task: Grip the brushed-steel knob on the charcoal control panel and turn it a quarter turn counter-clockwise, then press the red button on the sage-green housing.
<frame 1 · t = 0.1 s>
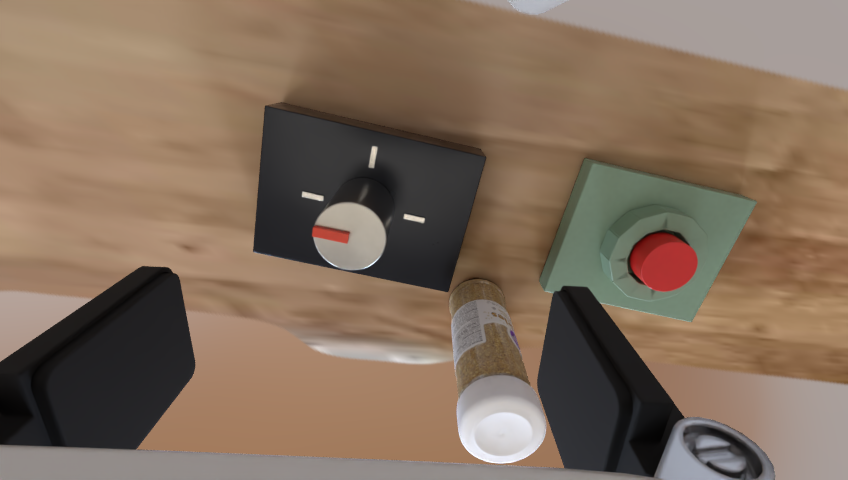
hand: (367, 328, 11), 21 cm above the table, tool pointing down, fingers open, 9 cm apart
button: (662, 261, 28), point 4 cm above the table, slide at 0.1 cm
dial: (357, 221, 25), point 6 cm above the table, hinge at 0.0°
button box: (635, 239, 32), on the table
panel: (370, 194, 31), on the table
sprinkles bottle: (475, 300, 34), on the table
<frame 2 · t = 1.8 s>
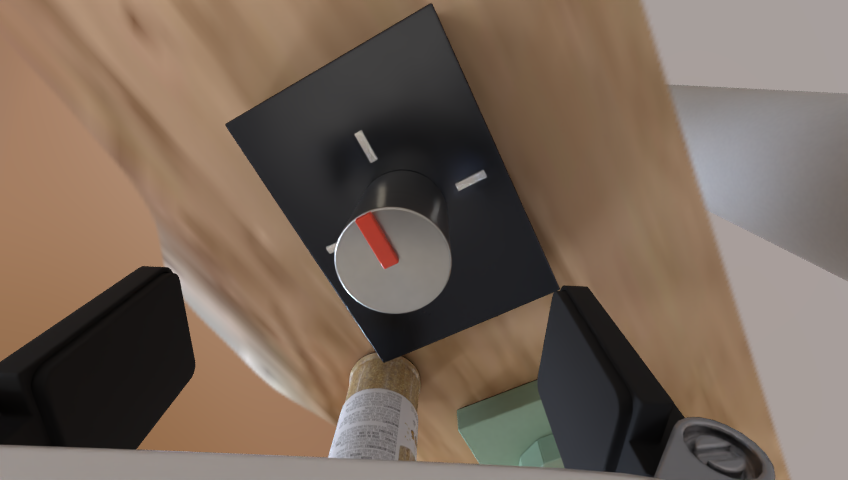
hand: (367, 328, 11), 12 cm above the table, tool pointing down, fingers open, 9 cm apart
dial: (398, 235, 17), point 6 cm above the table, hinge at 0.0°
button box: (561, 446, 28), on the table
panel: (407, 195, 22), on the table
sprinkles bottle: (385, 375, 27), on the table
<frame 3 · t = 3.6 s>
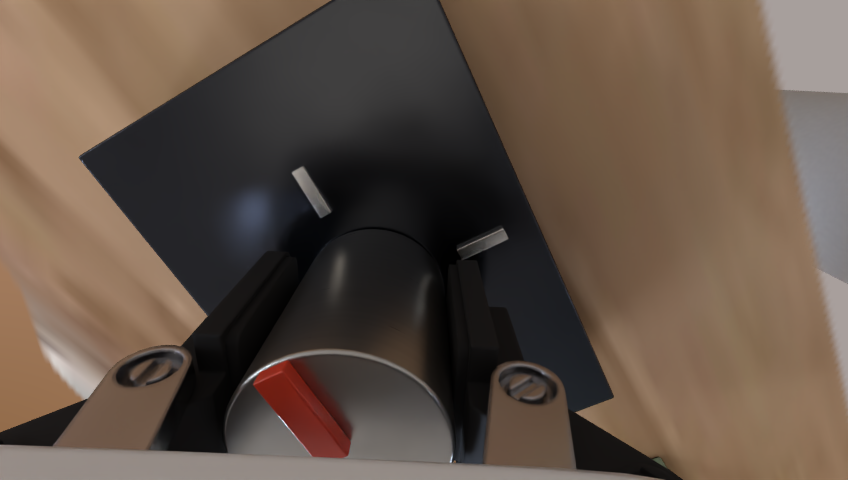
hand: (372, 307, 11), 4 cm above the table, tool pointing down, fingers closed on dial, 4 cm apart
dial: (361, 353, 10), point 6 cm above the table, hinge at 0.0°, touching gripper
panel: (385, 250, 15), on the table
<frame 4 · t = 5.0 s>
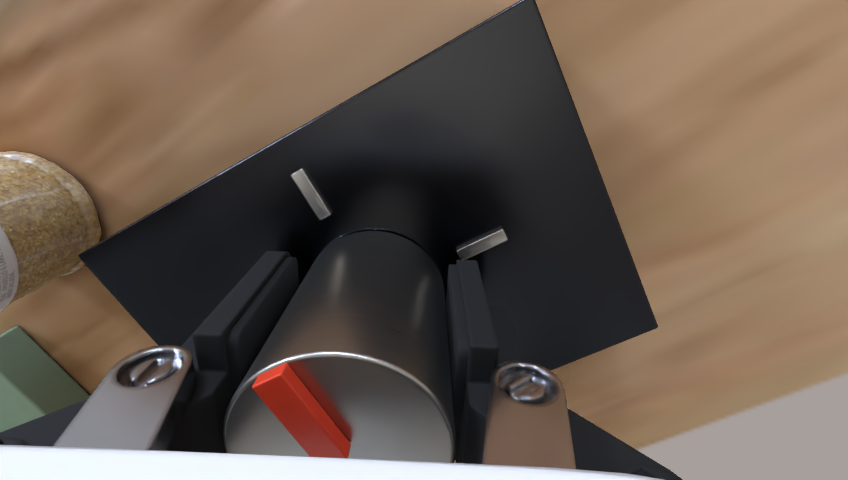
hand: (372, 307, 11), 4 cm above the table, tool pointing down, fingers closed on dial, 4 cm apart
dial: (361, 355, 10), point 6 cm above the table, hinge at 90.3°, touching gripper
button box: (10, 460, 19), on the table
panel: (385, 252, 15), on the table
sprinkles bottle: (47, 211, 15), on the table
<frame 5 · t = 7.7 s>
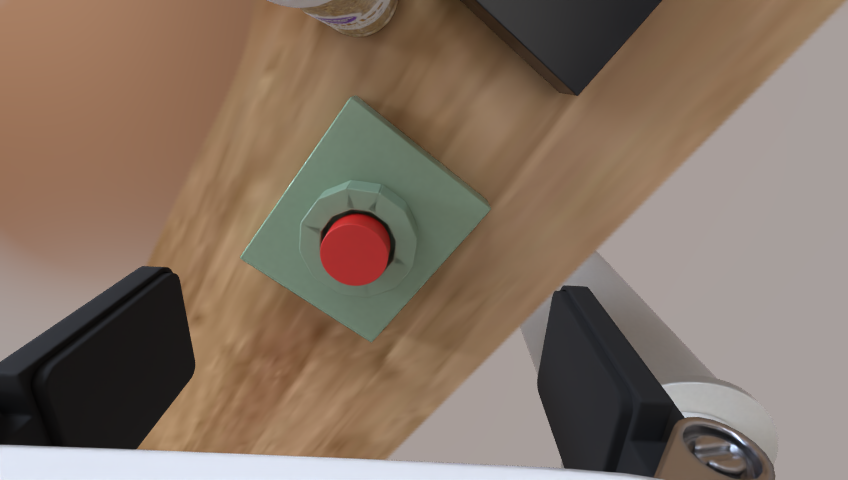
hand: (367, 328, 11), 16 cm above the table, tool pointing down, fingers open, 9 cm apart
button: (356, 249, 23), point 4 cm above the table, slide at 0.1 cm
button box: (366, 224, 27), on the table
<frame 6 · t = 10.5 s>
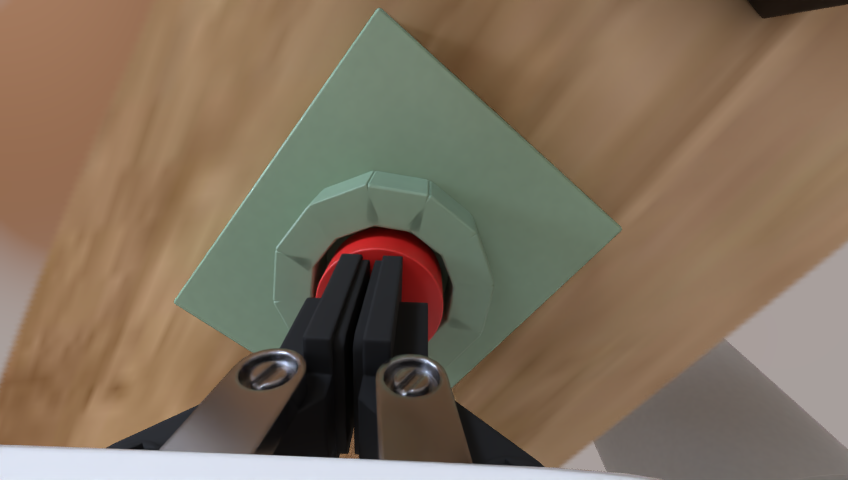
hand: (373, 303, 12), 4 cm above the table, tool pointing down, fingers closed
button: (382, 292, 13), point 3 cm above the table, slide at -0.5 cm, touching gripper
button box: (392, 248, 16), on the table
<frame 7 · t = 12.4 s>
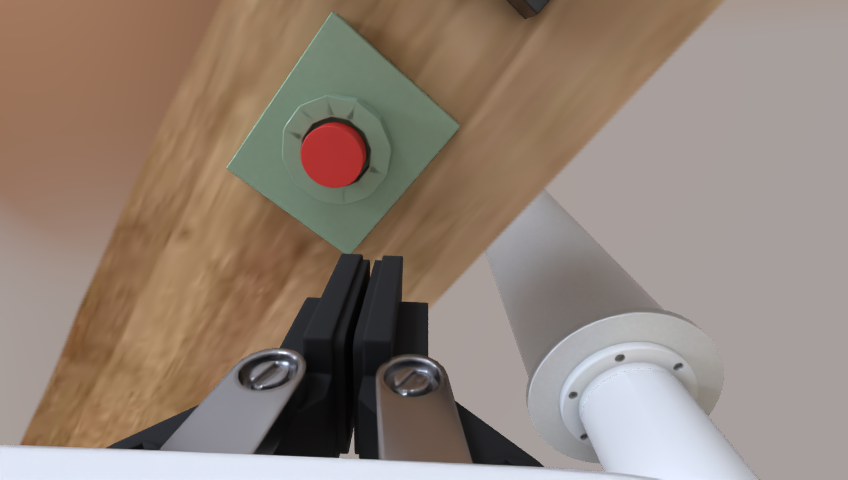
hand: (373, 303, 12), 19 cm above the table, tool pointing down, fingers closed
button: (334, 154, 25), point 4 cm above the table, slide at 0.1 cm
button box: (345, 143, 29), on the table
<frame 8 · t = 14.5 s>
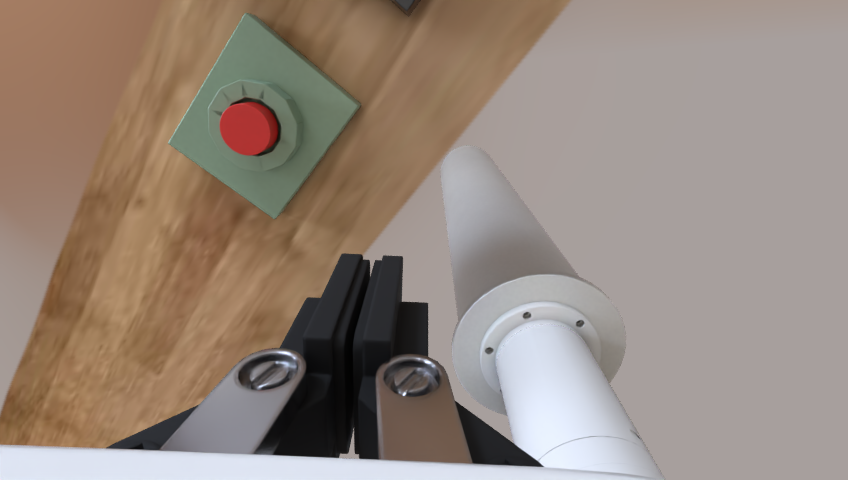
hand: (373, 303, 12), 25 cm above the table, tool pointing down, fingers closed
button: (249, 128, 31), point 4 cm above the table, slide at 0.1 cm
button box: (268, 122, 34), on the table
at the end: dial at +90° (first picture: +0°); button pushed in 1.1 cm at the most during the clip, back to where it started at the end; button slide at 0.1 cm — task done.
